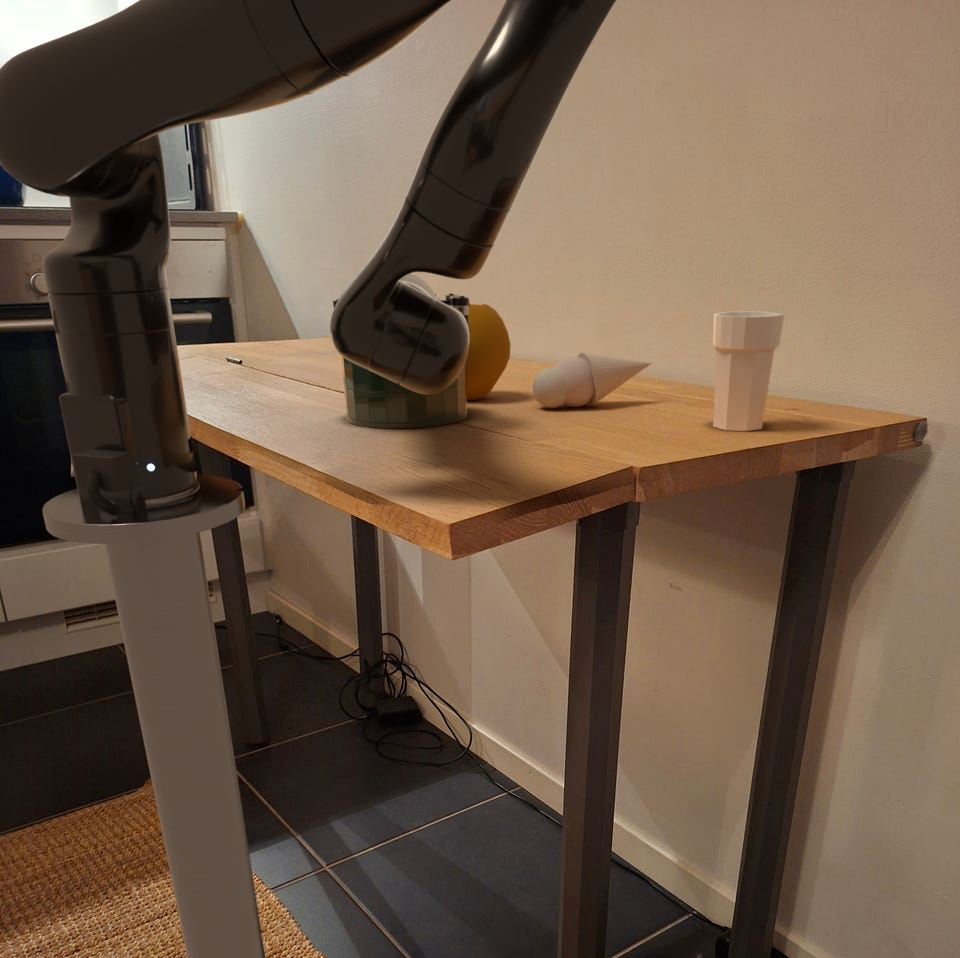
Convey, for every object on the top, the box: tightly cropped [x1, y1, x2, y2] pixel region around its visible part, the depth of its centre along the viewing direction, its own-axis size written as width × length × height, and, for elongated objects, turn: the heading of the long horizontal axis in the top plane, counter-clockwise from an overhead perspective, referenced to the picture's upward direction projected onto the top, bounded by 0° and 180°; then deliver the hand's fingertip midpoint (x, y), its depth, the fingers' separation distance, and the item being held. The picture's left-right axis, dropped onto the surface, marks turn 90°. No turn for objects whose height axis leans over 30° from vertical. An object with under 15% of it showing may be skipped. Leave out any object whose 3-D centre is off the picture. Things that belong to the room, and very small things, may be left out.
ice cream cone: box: [532, 352, 653, 409], centre depth 106 cm, size 6×6×15 cm
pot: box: [341, 356, 468, 430], centre depth 101 cm, size 14×14×7 cm
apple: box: [466, 298, 512, 401], centre depth 111 cm, size 10×10×12 cm
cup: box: [712, 310, 785, 432], centre depth 92 cm, size 7×7×11 cm
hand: (401, 305), depth 100 cm, fingers closed on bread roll, 5 cm apart
